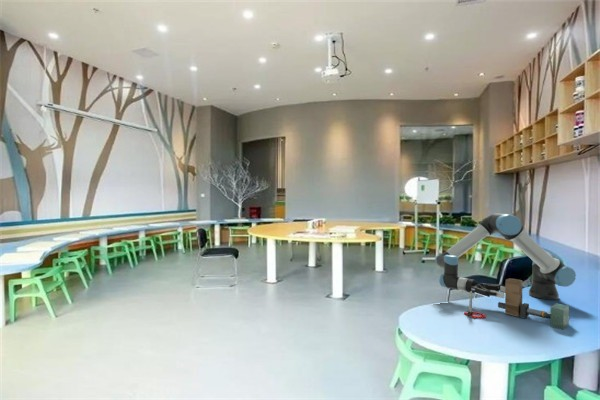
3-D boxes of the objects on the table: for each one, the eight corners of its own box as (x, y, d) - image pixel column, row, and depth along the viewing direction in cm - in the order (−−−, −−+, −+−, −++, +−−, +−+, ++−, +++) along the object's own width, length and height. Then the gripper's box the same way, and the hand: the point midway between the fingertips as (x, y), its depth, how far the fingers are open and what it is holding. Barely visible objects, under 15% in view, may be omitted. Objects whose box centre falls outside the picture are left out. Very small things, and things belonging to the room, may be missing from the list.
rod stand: (502, 309, 187) (502, 292, 187) (568, 324, 165) (568, 305, 165) (495, 313, 181) (495, 296, 181) (563, 329, 159) (563, 310, 159)
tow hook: (476, 313, 182) (462, 314, 179) (477, 288, 182) (463, 289, 179) (489, 318, 174) (475, 319, 171) (490, 293, 174) (476, 293, 171)
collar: (524, 314, 178) (524, 302, 177) (528, 315, 176) (528, 303, 176) (520, 317, 174) (520, 305, 174) (525, 318, 172) (525, 306, 172)
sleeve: (509, 311, 183) (509, 278, 183) (522, 314, 178) (522, 280, 178) (505, 313, 179) (505, 279, 179) (518, 316, 174) (518, 282, 174)
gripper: (476, 288, 204) (517, 296, 188) (457, 295, 188) (499, 305, 172) (476, 275, 204) (517, 282, 188) (457, 282, 188) (499, 290, 172)
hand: (509, 293), depth 180 cm, fingers open, 13 cm apart
